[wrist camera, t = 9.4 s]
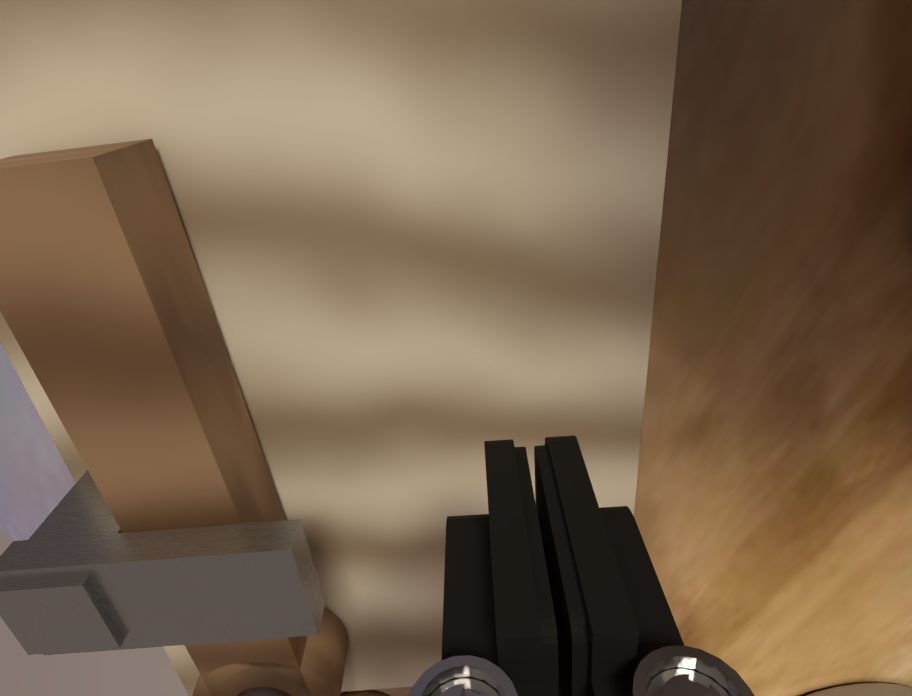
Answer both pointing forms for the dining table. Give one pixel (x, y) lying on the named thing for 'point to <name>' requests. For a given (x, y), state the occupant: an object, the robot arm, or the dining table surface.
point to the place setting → (364, 693)
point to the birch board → (387, 247)
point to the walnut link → (144, 375)
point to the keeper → (154, 582)
